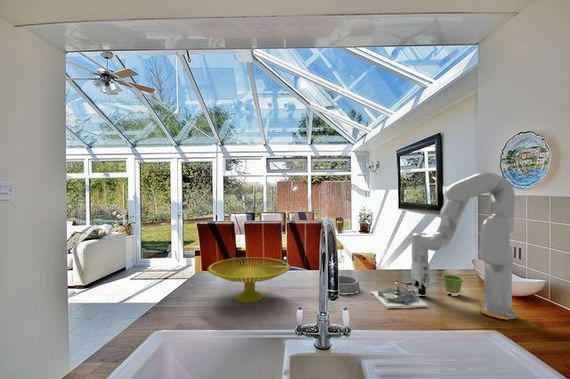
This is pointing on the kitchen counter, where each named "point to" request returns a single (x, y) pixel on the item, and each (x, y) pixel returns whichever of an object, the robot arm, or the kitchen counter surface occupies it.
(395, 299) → the sprocket
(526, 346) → the kitchen counter surface
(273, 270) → the cake stand
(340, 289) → the dog bowl
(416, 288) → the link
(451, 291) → the plant pot
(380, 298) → the base plate
